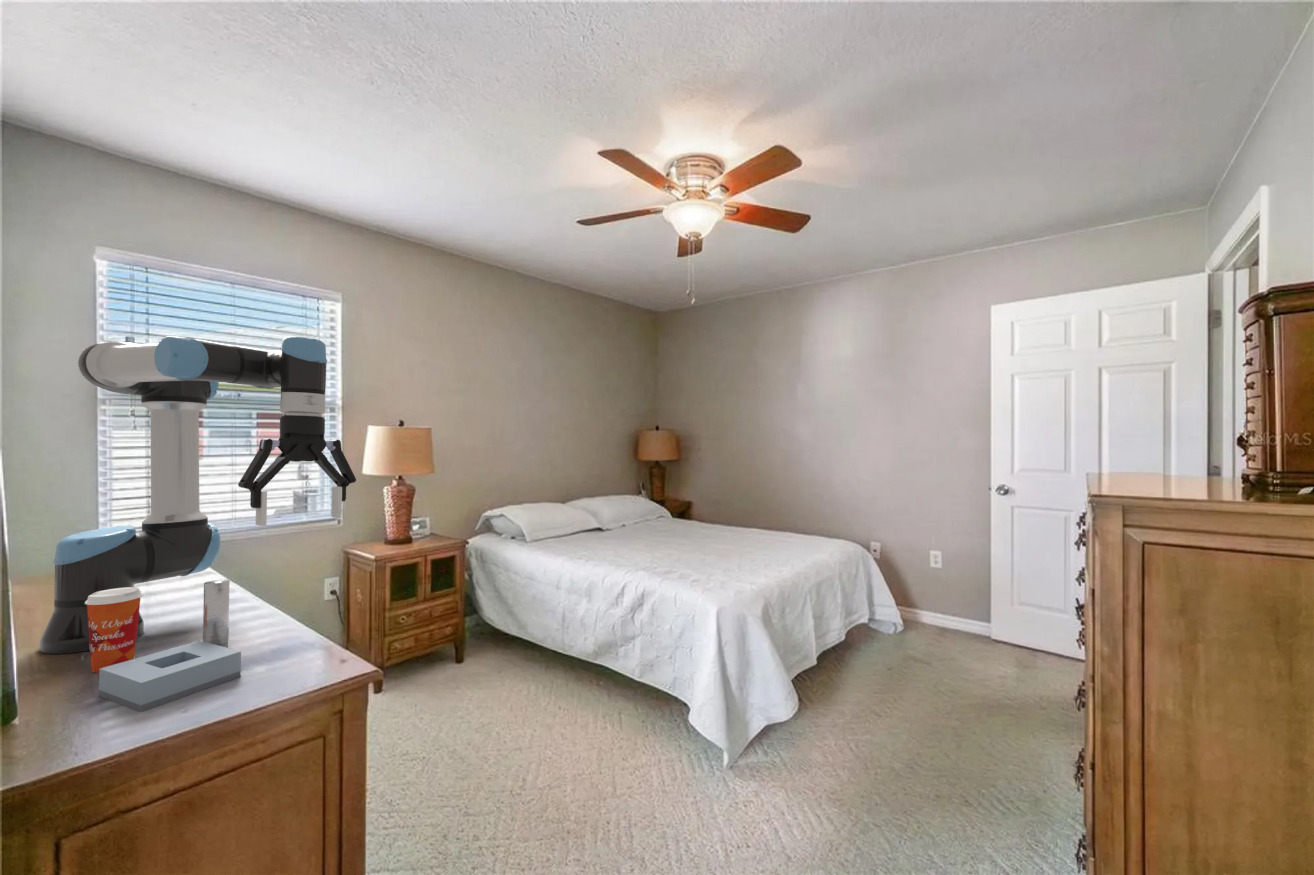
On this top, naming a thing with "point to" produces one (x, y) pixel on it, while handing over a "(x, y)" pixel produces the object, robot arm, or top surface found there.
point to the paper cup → (113, 626)
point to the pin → (216, 612)
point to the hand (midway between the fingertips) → (300, 521)
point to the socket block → (168, 674)
